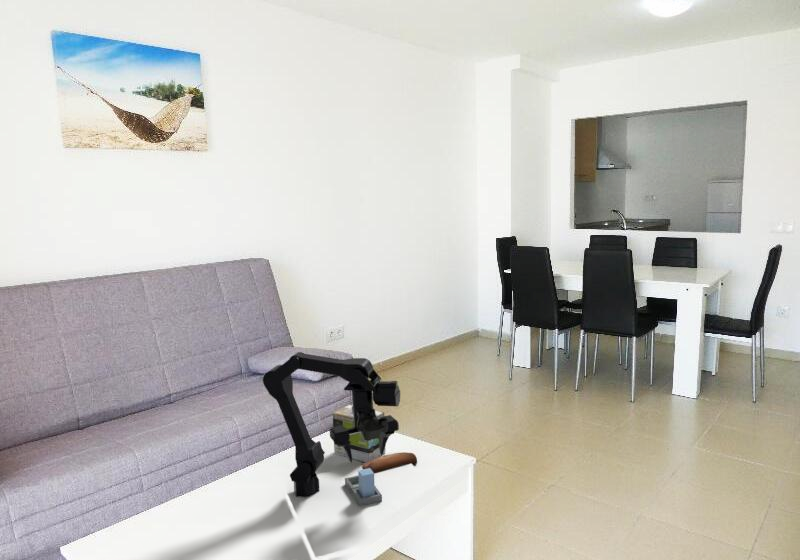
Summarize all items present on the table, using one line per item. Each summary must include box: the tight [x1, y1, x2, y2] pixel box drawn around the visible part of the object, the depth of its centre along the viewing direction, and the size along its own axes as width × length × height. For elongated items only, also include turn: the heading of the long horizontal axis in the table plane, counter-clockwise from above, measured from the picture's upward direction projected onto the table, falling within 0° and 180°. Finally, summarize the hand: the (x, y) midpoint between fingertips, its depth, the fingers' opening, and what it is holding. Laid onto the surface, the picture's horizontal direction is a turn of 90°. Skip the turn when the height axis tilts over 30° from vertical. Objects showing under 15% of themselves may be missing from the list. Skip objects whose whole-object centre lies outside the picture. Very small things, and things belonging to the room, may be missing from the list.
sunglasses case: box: [361, 452, 418, 474], centre depth 185 cm, size 18×7×7 cm
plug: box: [357, 468, 376, 498], centre depth 164 cm, size 4×4×8 cm
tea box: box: [332, 403, 386, 463], centre depth 194 cm, size 15×10×15 cm
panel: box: [344, 475, 383, 508], centre depth 167 cm, size 8×14×3 cm, turn 23°
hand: (366, 457), depth 163 cm, fingers open, 9 cm apart
